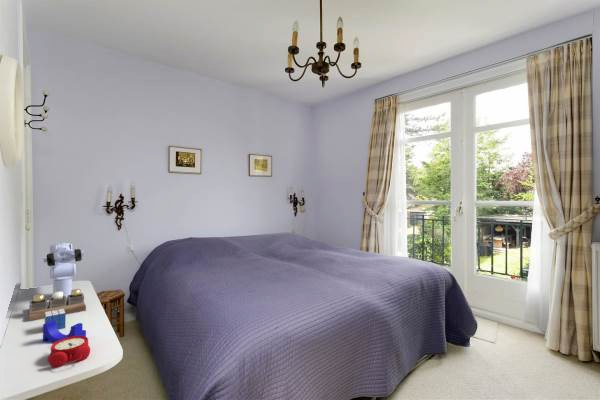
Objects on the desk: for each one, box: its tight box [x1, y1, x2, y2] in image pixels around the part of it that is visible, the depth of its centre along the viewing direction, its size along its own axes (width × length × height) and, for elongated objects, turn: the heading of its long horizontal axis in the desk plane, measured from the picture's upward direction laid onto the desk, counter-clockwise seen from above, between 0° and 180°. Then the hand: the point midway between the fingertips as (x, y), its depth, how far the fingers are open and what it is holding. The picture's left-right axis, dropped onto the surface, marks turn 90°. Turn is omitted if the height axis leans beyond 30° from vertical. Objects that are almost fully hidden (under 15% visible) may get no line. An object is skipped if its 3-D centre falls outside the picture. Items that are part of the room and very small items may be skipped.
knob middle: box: [52, 292, 63, 300], centre depth 129 cm, size 3×3×3 cm
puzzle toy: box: [44, 309, 67, 331], centre depth 112 cm, size 6×6×6 cm
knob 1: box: [32, 293, 45, 304], centre depth 125 cm, size 3×3×3 cm
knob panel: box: [28, 292, 87, 322], centre depth 129 cm, size 16×18×5 cm
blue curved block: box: [42, 321, 87, 344], centre depth 103 cm, size 12×4×6 cm, turn 82°
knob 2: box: [71, 288, 82, 297], centre depth 133 cm, size 3×3×3 cm
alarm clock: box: [47, 336, 91, 368], centre depth 92 cm, size 10×6×15 cm
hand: (65, 260), depth 131 cm, fingers open, 7 cm apart
